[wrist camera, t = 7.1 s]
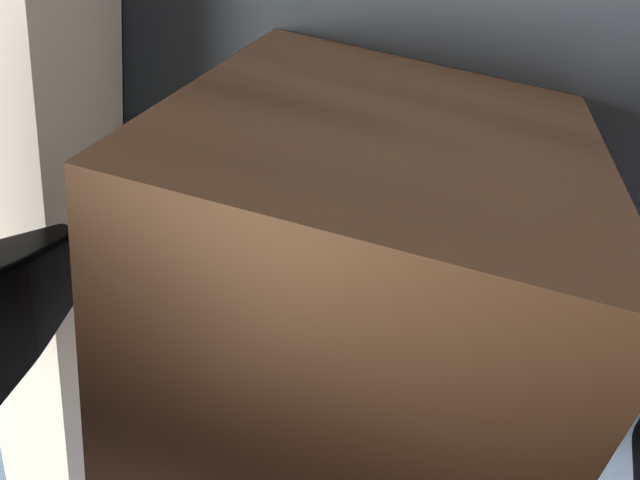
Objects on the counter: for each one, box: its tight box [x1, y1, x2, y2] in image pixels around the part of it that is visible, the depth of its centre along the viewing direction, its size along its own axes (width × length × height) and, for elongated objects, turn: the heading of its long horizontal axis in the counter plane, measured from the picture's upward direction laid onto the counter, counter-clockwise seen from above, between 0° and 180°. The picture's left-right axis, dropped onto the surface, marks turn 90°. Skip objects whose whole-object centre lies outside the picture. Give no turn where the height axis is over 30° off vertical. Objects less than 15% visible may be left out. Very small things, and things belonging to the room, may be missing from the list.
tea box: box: [64, 28, 640, 480], centre depth 9 cm, size 7×5×6 cm
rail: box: [0, 0, 123, 480], centre depth 11 cm, size 24×2×2 cm, turn 171°
